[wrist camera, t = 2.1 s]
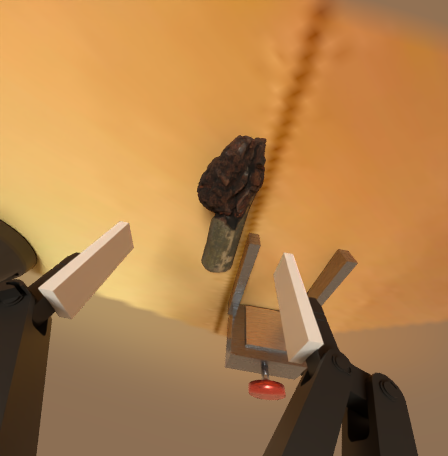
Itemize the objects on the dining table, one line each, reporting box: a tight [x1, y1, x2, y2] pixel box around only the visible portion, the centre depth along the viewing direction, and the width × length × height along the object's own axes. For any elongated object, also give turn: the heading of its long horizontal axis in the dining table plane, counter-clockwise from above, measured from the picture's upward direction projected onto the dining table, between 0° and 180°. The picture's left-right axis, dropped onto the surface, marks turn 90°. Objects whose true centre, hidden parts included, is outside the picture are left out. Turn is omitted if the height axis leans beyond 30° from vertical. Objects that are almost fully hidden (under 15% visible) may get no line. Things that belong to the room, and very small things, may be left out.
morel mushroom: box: [197, 135, 266, 273], centre depth 21 cm, size 18×7×6 cm, turn 167°
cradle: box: [225, 233, 358, 400], centre depth 26 cm, size 15×24×12 cm, turn 171°
